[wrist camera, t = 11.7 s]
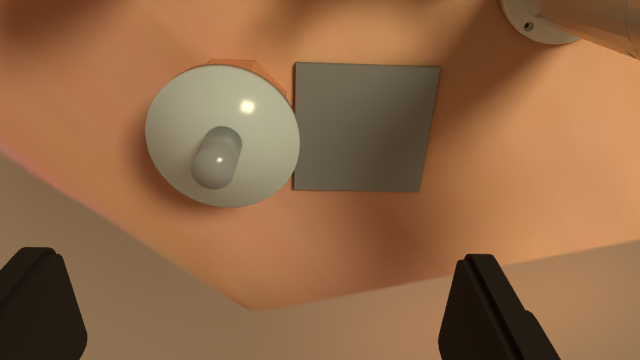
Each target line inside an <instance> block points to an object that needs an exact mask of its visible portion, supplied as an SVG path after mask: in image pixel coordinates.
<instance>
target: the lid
mask: <svg viewBox="0 0 640 360" xmlns="http://www.w3.org/2000/svg"><path fill="white" fill-rule="evenodd" d="M145 136H146V144H147V148H148V151H149V154H150V156H151V159H152V161H153V163H154V165H155V166H156V168H157V170H158V171H159V172H160V174H161V175H162V176H163V177H164V178H165V180H166V181H167V182H168V183H169V184H171V185H172V186H173V187H174V188H175V189H176V190H178V191H179V192H181V193H182V194H184V195H186V196H187V197H189V198H191V199H193V200H196V201H198V202H201V203H204V204H207V205H211V206H217V207H227V208H230V207H242V206H248V205H252V204H255V203H258V202H260V201H263V200H265V199H267V198H268V197H270V196H272V195H273V194H274V193H276V192H277V191H278V190H279V189H280V188H281V187H283V186H284V184H285V183H286V182H287V181H288V179H289V178H290V176H291V175H292V173H293V171H294V169H295V166H296V164H297V160H298V156H299V147H300V133H299V126H298V121H297V119H296V116H295V113H294V111H293V109H292V107H291V105H290V103H289V102H288V100H287V99H286V97H285V96H284V95H283V94H282V93H281V91H280V90H279V89H278V88H277V87H276V86H275V85H273V84H272V83H271V82H270V81H268V80H267V79H266V78H264V77H263V76H261V75H259V74H257V73H255V72H253V71H251V70H248V69H246V68H243V67H239V66H235V65H230V64H206V65H200V66H197V67H193V68H190V69H188V70H186V71H184V72H182V73H180V74H178V75H177V76H175V77H174V78H173V79H171V80H170V81H169V82H168V83H167V84H166V85H165V86H164V87H163V88H162V89H161V90H160V92H159V93H158V94H157V95H156V97H155V98H154V100H153V102H152V104H151V106H150V108H149V111H148V114H147V118H146V124H145Z"/></svg>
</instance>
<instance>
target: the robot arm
mask: <svg viewBox="0 0 640 360" xmlns="http://www.w3.org/2000/svg"><path fill="white" fill-rule="evenodd" d="M499 1H500V5H501V8H502V11H503V13H504V15H505V17H506V18H507V20H508V22H509V23H510V24H511V25H512V26H513V28H514V29H515V30H516V31H518V32H519V33H521V34H522V35H524V36H525V37H527V38H529V39H532V40H534V41H537V42H541V43H545V44H565V43H571V42H575V41H578V40H580V39H584V40H587V41H590V42H592V43H595V44H598V45H600V46H603V47H606V48H608V49H611V50H614V51H616V52H619V53H622V54H624V55H627V56H630V57H632V58H635V59H638V60H640V0H499ZM526 23H527V26H526V27H524V25H525V24H526ZM86 344H87V332H86V329H85V326H84V322H83V319H82V316H81V313H80V310H79V307H78V304H77V301H76V297H75V294H74V292H73V288H72V285H71V282H70V279H69V276H68V273H67V269H66V266H65V263H64V260H63V258H62V256H61V255H60V254H56V252H55V251H54V250H53V249H52V248H48V247H47V248H46V247H24V248H21V249H20V250H19V251H18V252H17V253H16V254H15V255H14V256H13V257H12V258H11V259H10V261H8V263H7V264H6V265H5V266H4V267H3V268H2V269H1V270H0V360H79V359H80V357H81V356H82V354H83V352H84V350H85V347H86ZM438 344H439V351H440V354H441V358H442V360H561V359H560V358H559V356H558V354H557V353H556V351H555V349H554V347H553V346H552V344H551V343H550V341H549V339H548V338H547V336H546V334H545V332H544V331H543V329H542V327H541V326H540V324H539V322H538V321H537V319H536V318H535V316H534V315H533V314H532V313H531V312H529V311H528V310H525V309H524V307H523V305H522V304H521V302H520V300H519V299H518V297H517V295H516V293H515V291H514V290H513V288H512V286H511V285H510V283H509V281H508V279H507V278H506V276H505V275H504V273H503V271H502V269H501V267H500V266H499V264H498V262H497V261H496V259H495V257H494V256H493V255H491V254H467V255H466V256H465V258H464V260H459V261H458V262H457V265H456V269H455V273H454V277H453V281H452V285H451V289H450V293H449V297H448V301H447V305H446V309H445V313H444V317H443V321H442V325H441V329H440V333H439V338H438Z"/></svg>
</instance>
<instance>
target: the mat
mask: <svg viewBox="0 0 640 360" xmlns="http://www.w3.org/2000/svg"><path fill="white" fill-rule="evenodd" d="M440 69H441V68H440V67H433V66H403V65H373V64H343V63H313V62H296V91H295V116H296V119H297V121H298V126H299V133H300V147H299V156H298V160H297V164H296V166H295V172H294V190H334V191H381V192H419V188H420V183H421V177H422V171H423V166H424V160H425V154H426V149H427V143H428V137H429V132H430V126H431V120H432V115H433V109H434V103H435V98H436V92H437V86H438V81H439V75H440Z"/></svg>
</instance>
